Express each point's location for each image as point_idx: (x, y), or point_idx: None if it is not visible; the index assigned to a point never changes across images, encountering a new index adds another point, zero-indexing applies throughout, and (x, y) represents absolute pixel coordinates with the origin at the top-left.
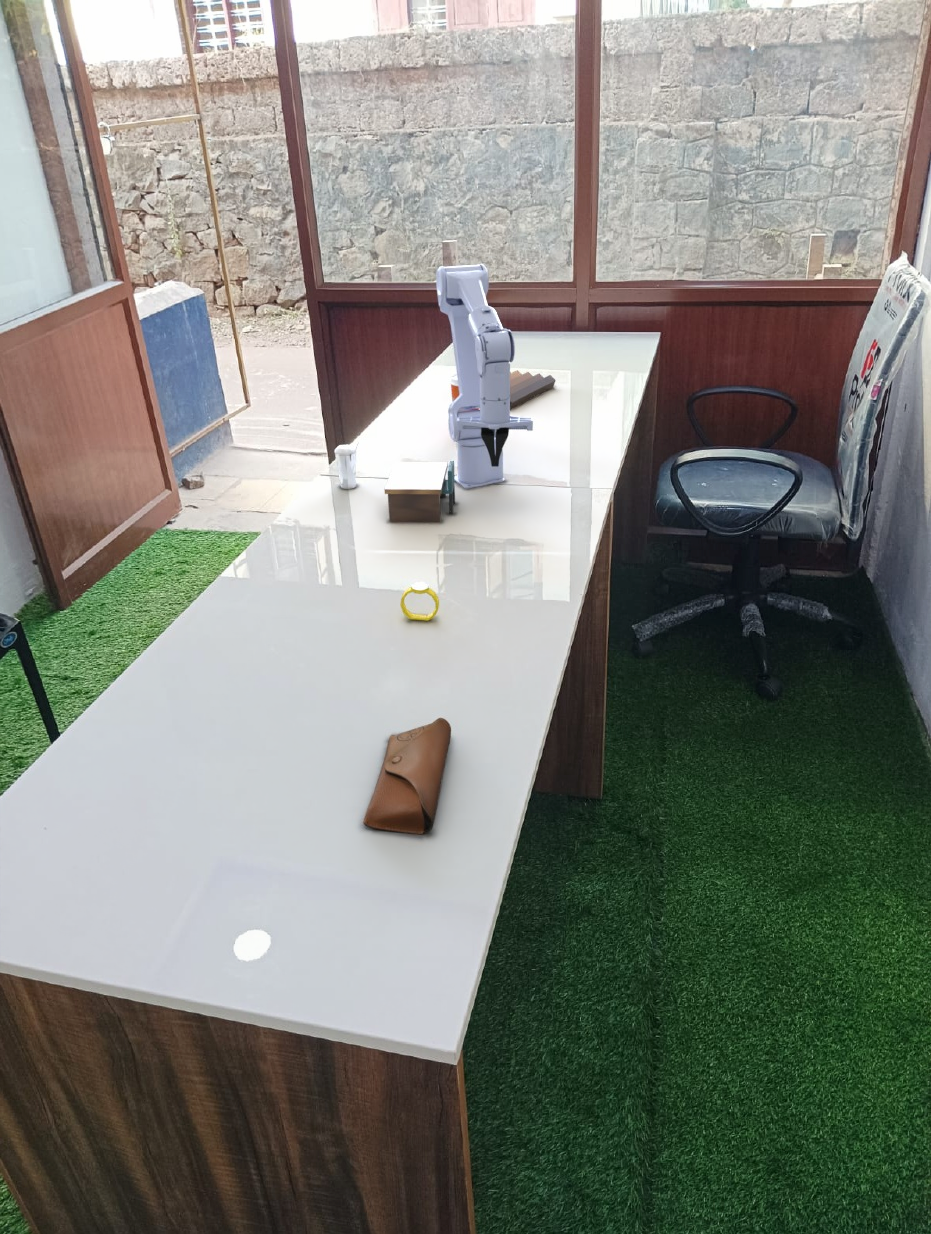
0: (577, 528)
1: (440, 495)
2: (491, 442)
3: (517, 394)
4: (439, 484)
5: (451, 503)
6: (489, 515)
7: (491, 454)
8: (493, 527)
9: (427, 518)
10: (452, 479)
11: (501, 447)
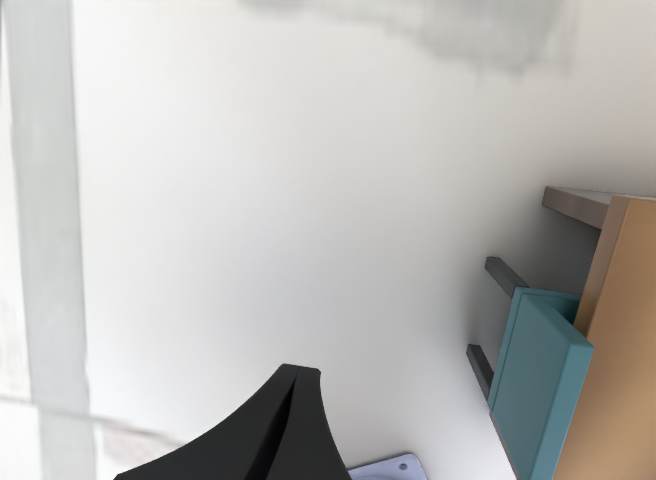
0: (52, 97)
1: None
2: (288, 475)
3: None
4: (624, 274)
5: (505, 270)
6: (351, 238)
7: (308, 411)
8: (344, 128)
9: (607, 194)
10: (531, 343)
11: (215, 431)
